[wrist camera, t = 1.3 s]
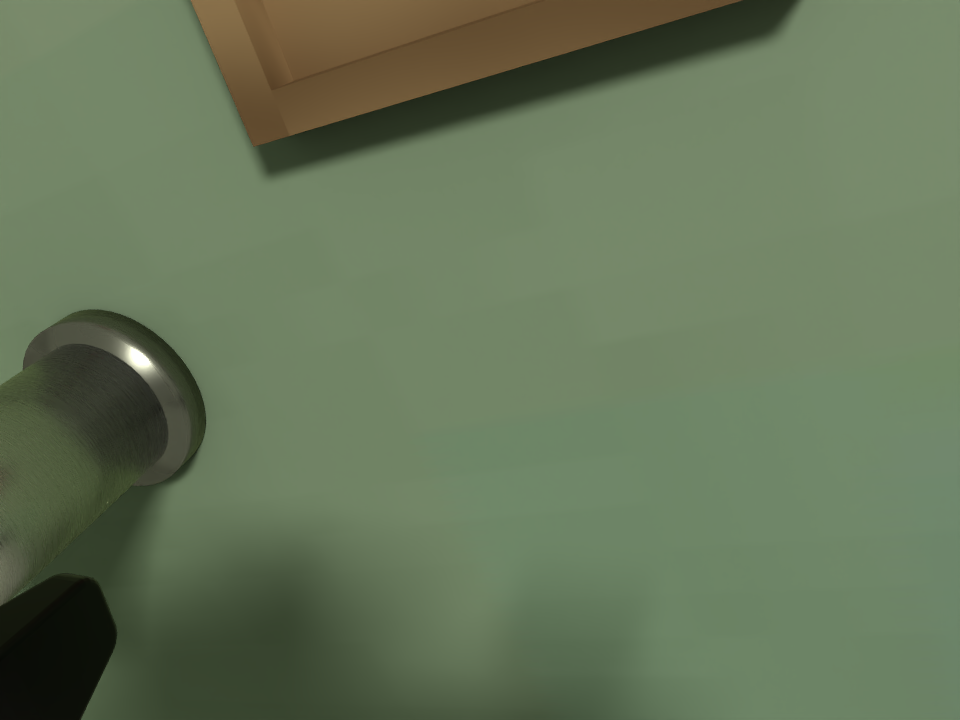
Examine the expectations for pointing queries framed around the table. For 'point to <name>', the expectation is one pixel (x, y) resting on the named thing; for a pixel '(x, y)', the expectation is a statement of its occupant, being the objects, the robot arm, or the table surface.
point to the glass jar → (86, 433)
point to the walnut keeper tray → (395, 48)
